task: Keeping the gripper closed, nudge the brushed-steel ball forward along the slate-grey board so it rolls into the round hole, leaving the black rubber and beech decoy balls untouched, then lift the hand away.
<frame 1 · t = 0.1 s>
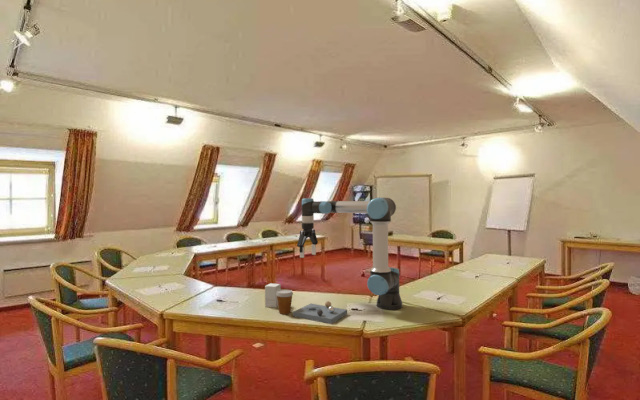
hand: (307, 256, 230), 28 cm above the table, fingers open, 13 cm apart
supplement box: (273, 306, 219), on the table
board: (320, 315, 200), on the table
steel ball: (331, 309, 197), point 4 cm above the table, touching board
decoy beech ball: (328, 304, 206), point 4 cm above the table, touching board
disposable coffee cup: (284, 312, 206), on the table
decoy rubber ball: (319, 312, 192), point 4 cm above the table, touching board
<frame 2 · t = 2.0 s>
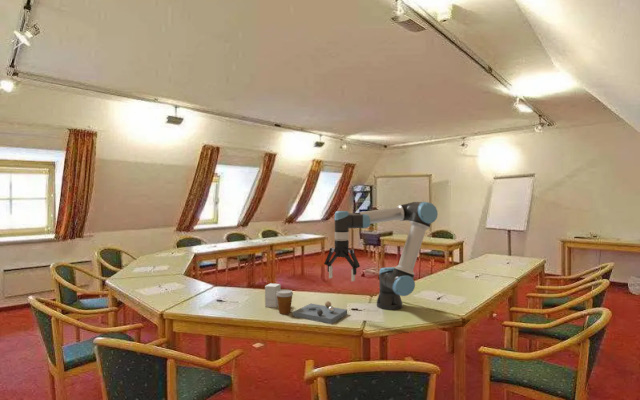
hand: (341, 279, 194), 21 cm above the table, fingers open, 13 cm apart
nothing on the table moved.
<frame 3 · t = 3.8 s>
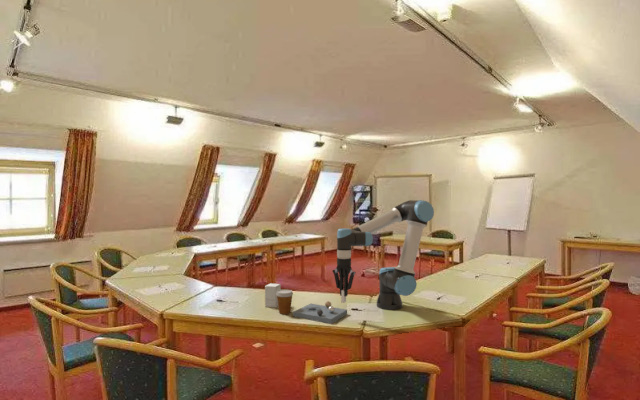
hand: (343, 302, 193), 9 cm above the table, fingers closed
nothing on the table moved.
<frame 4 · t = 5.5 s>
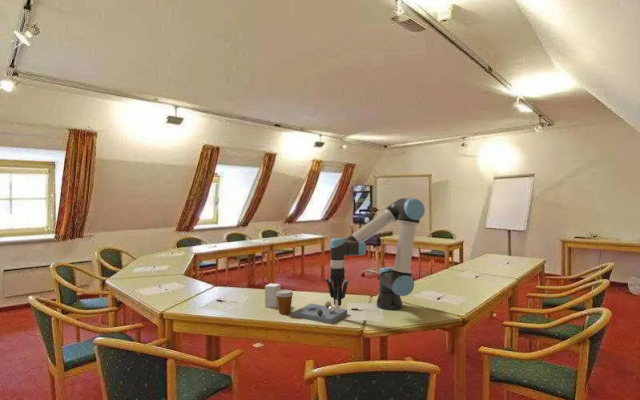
hand: (337, 311, 195), 4 cm above the table, fingers closed
nothing on the table moved.
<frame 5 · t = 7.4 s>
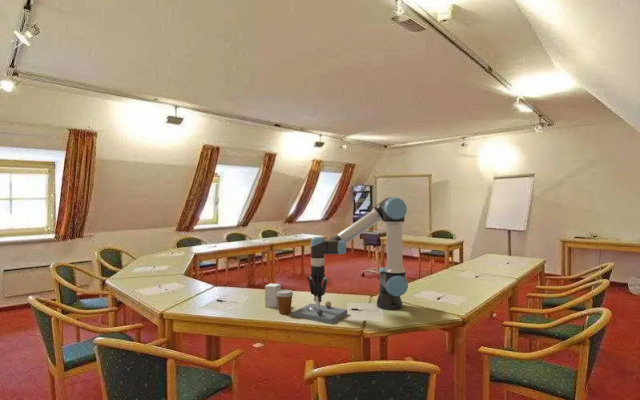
hand: (317, 307, 201), 4 cm above the table, fingers closed
steel ball: (311, 310, 203), point 2 cm above the table, tilted 90°
everything else where it was.
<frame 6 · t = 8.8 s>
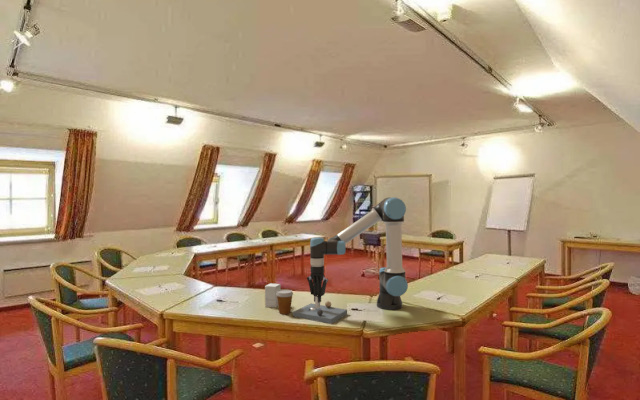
hand: (317, 307, 201), 4 cm above the table, fingers closed
steel ball: (312, 310, 203), point 2 cm above the table, tilted 77°
everything else where it was.
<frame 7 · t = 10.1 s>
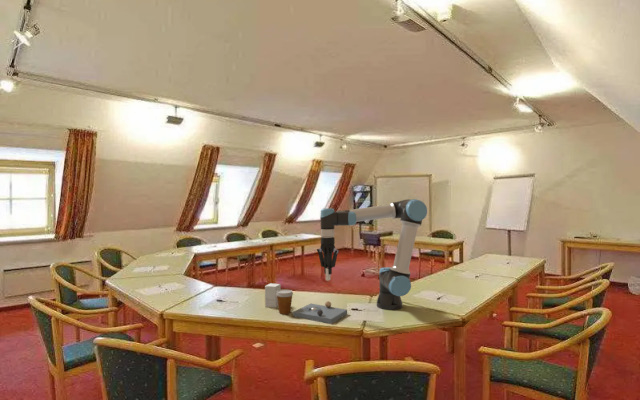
hand: (328, 279, 198), 20 cm above the table, fingers closed
steel ball: (313, 310, 203), point 2 cm above the table, tilted 67°
everything else where it was.
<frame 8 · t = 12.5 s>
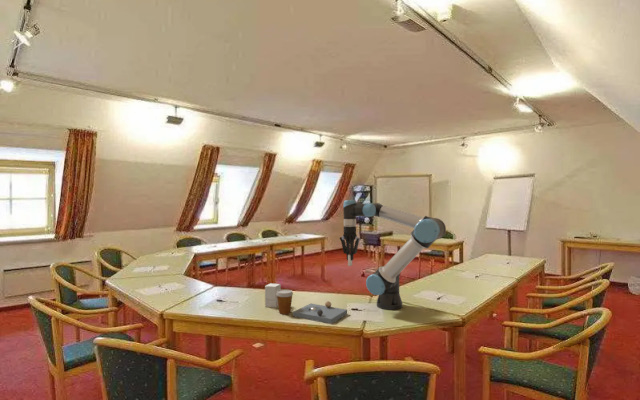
hand: (350, 265, 216), 24 cm above the table, fingers closed
nothing on the table moved.
at the end: steel ball 0.4 cm from the target spot in the board, point 1.7 cm above the board's base; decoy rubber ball moved 0.0 cm from its start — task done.
